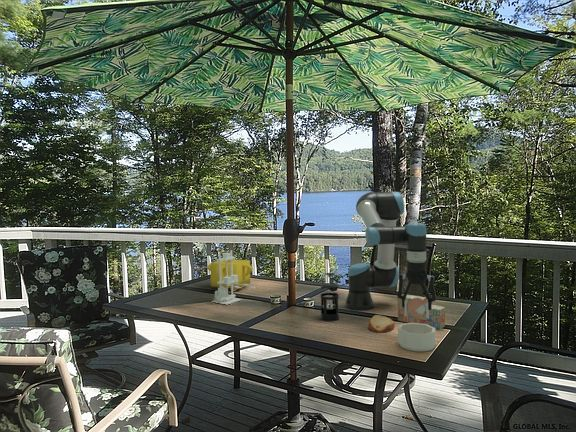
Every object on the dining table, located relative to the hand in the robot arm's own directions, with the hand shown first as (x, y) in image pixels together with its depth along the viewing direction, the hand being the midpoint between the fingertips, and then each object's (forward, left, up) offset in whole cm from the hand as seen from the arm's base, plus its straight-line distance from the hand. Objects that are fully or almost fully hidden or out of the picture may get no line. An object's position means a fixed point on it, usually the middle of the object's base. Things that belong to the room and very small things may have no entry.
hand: (416, 316), depth 172 cm
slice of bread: (-20, +20, -13) cm, 31 cm away
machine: (-104, +29, -12) cm, 109 cm away
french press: (-45, +22, -12) cm, 52 cm away
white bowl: (0, 0, -12) cm, 12 cm away
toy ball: (0, 0, 0) cm, 1 cm away
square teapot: (-129, +61, -12) cm, 143 cm away
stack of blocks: (-2, +30, -12) cm, 32 cm away
